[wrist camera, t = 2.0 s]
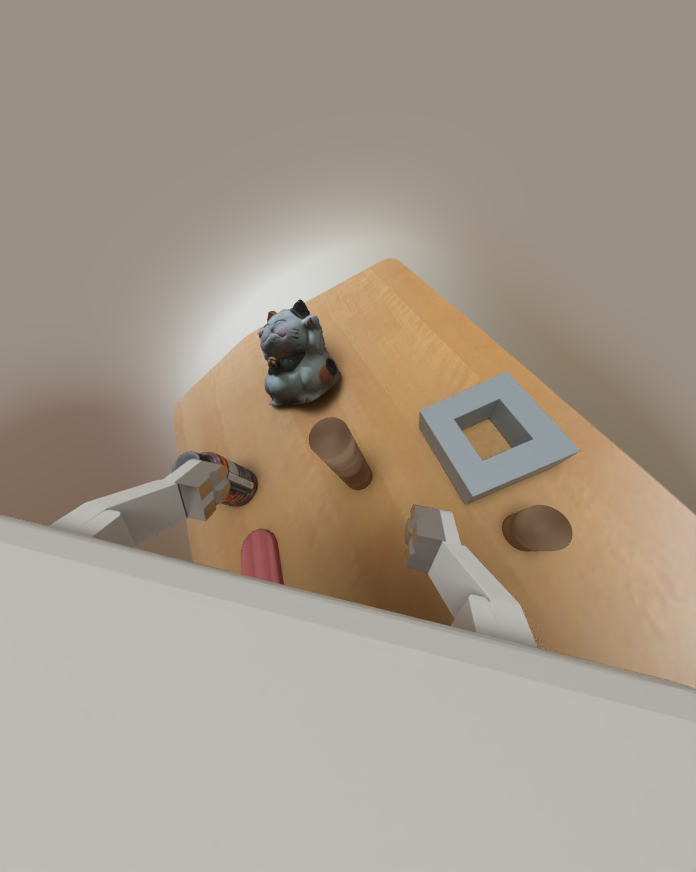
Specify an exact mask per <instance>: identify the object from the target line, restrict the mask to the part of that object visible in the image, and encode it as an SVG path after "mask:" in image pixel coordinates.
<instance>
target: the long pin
mask: <svg viewBox="0 0 696 872" xmlns="http://www.w3.org/2000/svg"><path fill="white" fill-rule="evenodd" d="M309 444H310V447H311V449H312V450H313V451H314V452H315V453H316V454H317V455H318V456H319V457H320V458H321V459H322V460H323V461H324V462H325V463H326V464H327V465H328V466H329V467H330V468H331V469H332V470H333V471H334V472H335V473H336V474H337V475H338V476H339V477H340V478H341V479H342V480H343V481H344V482H345V483H346V484H347V485H348V486H349V487H350V488H352V489H355V490H361V489H364V488H366V487H367V486H368V485H369V484H370V482H371V480H372V472H371V469H370V467H369V466H368V464H367V462H366V460H365V458H364V456H363V454H362V453H361V451H360V449H359V447H358V445H357V443H356V441H355V440H354V438H353V436H352V434H351V432H350V430H349V428H348V427H347V425H346V423H345V422H344V421H342V420H340V419H338V418H333V417H331V418H325V419H323V420H321V421H319V422H318V423H317V424H315V425H314V427H313V428H312V430H311V432H310V435H309Z"/></svg>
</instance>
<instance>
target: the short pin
mask: <svg viewBox="0 0 696 872" xmlns="http://www.w3.org/2000/svg"><path fill="white" fill-rule="evenodd" d="M502 531H503V535H504V537H505V539H506V540H507V541H508V542H509V543H510V544H511V545H512V546H513V547H515V548H517V549H519V550H522V551H556V550H561V549H563V548H565V547H566V546H568V545H569V543H570V542H571V539H572V528H571V525H570V523H569V521H568V520H567V519H566V517H565V516H564V515H563V514H562V513H560V512H559V511H557V510H556V509H554V508H552V507H549V506H544V505H536V506H532V507H530V508H527V509H525V510H522V511H520V512H517V513H515V514H512V515H510V516H508V517H507V518H506V519H505V520H504V522H503V525H502Z"/></svg>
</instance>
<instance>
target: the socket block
mask: <svg viewBox="0 0 696 872" xmlns="http://www.w3.org/2000/svg"><path fill="white" fill-rule="evenodd" d="M488 418H489V419H490V420H491V421H492V423H493V424H494V425H495V427H496V428H497V429H498V430H499V432H500V433H501V434H502V436H503V437H504V438H505V439H506V441H507V442H508V443H509V445H510V446H511V447H512V449H509V450H507V451H505V452H502V453H500V454H498V455H495V456H493V457H491V458H489V459H486V460H484V461H482V459H481V458H480V457H479V455H478V454H477V452H476V451H475V449H474V448H473V446H472V445H471V443H470V442H469V441H468V439H467V438H466V436H465V435H464V433H463V432H462V430H463V429H466V428H468V427H470V426H472V425H475V424H477V423H479V422H481V421H484V420H486V419H488ZM419 428H420V430H421V432H422V433H423V435H424V437H425V438H426V440H427V442H428V443H429V445H430V447H431V448H432V450H433V452H434V453H435V455H436V457H437V459H438V460H439V462H440V464H441V465H442V467H443V469H444V470H445V472H446V474H447V475H448V477H449V479H450V480H451V482H452V484H453V485H454V487H455V489H456V490H457V492H458V494H459V495H460V497H461V499H462V501H463V502H464V504H467V503H470V502H472V501H474V500H477V499H479V498H481V497H484V496H486V495H488V494H491V493H493V492H495V491H498V490H500V489H503V488H505V487H507V486H510V485H512V484H514V483H517V482H519V481H521V480H524V479H526V478H528V477H531V476H533V475H535V474H538V473H540V472H542V471H545V470H547V469H550V468H552V467H554V466H557V465H558V464H560V463H562V462H563V461H565V460H566V459H568V458H570V457H571V456H573V455H574V454H576V453H578V452H579V451H580V450H579V448H578V447H577V446H576V445H575V444H574V443H573V442H572V441H571V440H570V439H569V438H568V437H567V435H566V434H565V433H564V432H563V431H562V430H561V429H560V428H559V427H558V426H557V425H556V424H555V423H554V421H553V420H552V419H551V418H550V417H549V416H548V415H547V414H546V413H545V412H544V411H543V410H542V409H541V407H540V406H539V405H538V404H537V403H536V402H535V401H534V400H533V399H532V398H531V397H530V396H529V394H528V393H527V392H526V391H525V390H524V389H523V388H522V387H521V386H520V385H519V384H518V383H517V382H516V380H515V379H514V378H513V377H512V376H511V375H510V374H509V373H508V372H507V371H506V372H504V373H502V374H500V375H498V376H495V377H493V378H491V379H489V380H487V381H484V382H482V383H480V384H478V385H475V386H473V387H471V388H469V389H467V390H464V391H462V392H460V393H458V394H456V395H453V396H451V397H449V398H447V399H444V400H442V401H440V402H438V403H436V404H433V405H431V406H429V407H427V408H425V409H422V410H420V415H419Z"/></svg>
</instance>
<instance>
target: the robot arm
mask: <svg viewBox="0 0 696 872" xmlns="http://www.w3.org/2000/svg"><path fill="white" fill-rule="evenodd" d="M227 475H228V469H227V467H226V466H224V465H220V464H215V463H211V462H207V461H201V460H197V459H190V460H189V461H187V462H186V463H184V464H183V465H182V466H180V467H179V468H178V469H176V470H175V471H174V472H172V473H171V474H170V475H168V476H167V477H166V478H164V479H163V480H156V481H153V482H150V483H146V484H143V485H141V486H137V487H134V488H131V489H127V490H124V491H121V492H118V493H115V494H112V495H108V496H105V497H102V498H99V499H96V500H93V501H89V502H86V503H84V504H83V505H81V506H80V507H78V508H76V509H75V510H74V511H72V512H70V513H69V514H67V515H66V516H64V517H62V518H61V519H59V520H58V521H56V522H55V523H53V524H52V525H50V526H44V525H40V524H36V523H32V522H28V521H24V520H20V519H16V518H12V517H8V516H4V515H0V872H696V689H694V688H692V687H690V686H687V685H684V684H681V683H677V682H674V681H670V680H666V679H662V678H658V677H654V676H650V675H646V674H642V673H638V672H634V671H630V670H626V669H622V668H617V667H613V666H609V665H605V664H601V663H597V662H593V661H589V660H585V659H581V658H577V657H573V656H569V655H565V654H561V653H557V652H553V651H549V650H545V649H541V648H538V647H537V645H536V642H535V640H534V637H533V635H532V632H531V630H530V628H529V625H528V623H527V620H526V618H525V615H524V613H523V610H522V608H521V605H520V604H519V603H518V602H517V601H516V600H515V599H514V598H513V596H512V595H511V594H510V593H509V592H508V591H507V590H506V589H505V588H504V587H503V586H502V585H501V584H500V583H499V581H498V580H497V579H496V578H495V577H494V576H493V575H492V574H491V573H490V572H489V571H488V570H487V569H486V568H485V567H484V565H483V564H482V563H481V562H480V561H479V560H478V559H477V558H476V557H475V556H474V555H473V554H472V553H471V552H470V551H469V549H468V548H467V547H466V546H462V545H461V542H460V538H459V534H458V531H457V527H456V523H455V520H454V516H453V513H452V512H451V511H446V510H441V509H434V508H429V507H424V506H419V505H414V504H413V506H412V508H411V511H410V512H411V518H409V519H408V521H407V524H406V529H405V543H406V544H407V548H406V551H405V557H406V567H407V568H411V569H415V570H419V571H423V572H427V573H428V575H429V577H430V579H431V580H432V582H433V584H434V585H435V587H436V589H437V590H438V592H439V594H440V595H441V597H442V599H443V600H444V602H445V604H446V606H447V607H448V609H449V611H450V612H451V614H452V616H453V617H454V621H453V622H452V624H451V626H448V625H444V624H440V623H436V622H432V621H428V620H424V619H420V618H416V617H412V616H408V615H404V614H399V613H395V612H391V611H387V610H383V609H379V608H375V607H371V606H367V605H363V604H359V603H355V602H351V601H347V600H343V599H339V598H335V597H331V596H327V595H323V594H319V593H314V592H310V591H306V590H302V589H298V588H294V587H290V586H286V585H282V584H278V583H274V582H270V581H266V580H262V579H258V578H254V577H250V576H246V575H242V574H238V573H234V572H230V571H226V570H222V569H218V568H214V567H210V566H206V565H202V564H198V563H194V562H190V561H186V560H182V559H177V558H173V557H169V556H165V555H161V554H157V553H153V552H149V551H145V550H141V549H137V548H136V546H138V545H139V544H141V543H143V542H145V541H146V540H149V539H150V538H152V537H154V536H156V535H158V534H159V533H161V532H163V531H165V530H167V529H169V528H170V527H172V526H174V525H176V524H177V523H179V522H181V521H183V520H185V519H187V518H192V519H197V520H202V521H207V520H208V518H209V517H210V516H211V515H212V514H213V513H214V512H215V510H216V505H218V504H220V503H222V502H223V501H224V500H225V499H226V498H227V496H228V493H229V491H230V481H229V480H228V479H227V478H226V476H227Z"/></svg>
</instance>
